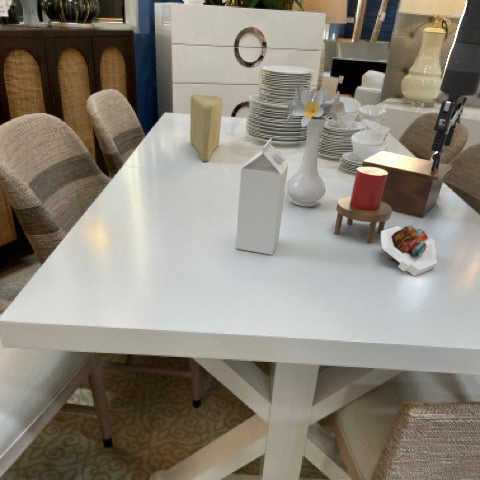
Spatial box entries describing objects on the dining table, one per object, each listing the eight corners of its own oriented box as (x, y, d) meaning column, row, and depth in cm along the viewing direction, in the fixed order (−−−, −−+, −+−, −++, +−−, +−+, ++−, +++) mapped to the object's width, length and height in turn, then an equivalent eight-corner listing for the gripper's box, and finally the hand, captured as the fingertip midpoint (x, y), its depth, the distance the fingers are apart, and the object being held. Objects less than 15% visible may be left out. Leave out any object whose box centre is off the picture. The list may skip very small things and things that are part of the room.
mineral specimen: (389, 231, 96) (408, 203, 91) (437, 266, 92) (459, 238, 87) (360, 252, 88) (378, 223, 83) (411, 291, 85) (432, 262, 80)
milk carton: (235, 249, 88) (242, 144, 78) (243, 235, 94) (251, 135, 84) (272, 255, 87) (284, 150, 77) (278, 241, 93) (291, 140, 83)
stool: (391, 232, 101) (399, 205, 98) (374, 248, 93) (381, 219, 90) (344, 218, 106) (349, 192, 103) (324, 233, 98) (329, 205, 95)
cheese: (221, 163, 137) (224, 107, 129) (188, 161, 136) (188, 105, 128) (219, 144, 155) (222, 94, 147) (190, 143, 154) (190, 92, 146)
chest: (436, 203, 120) (447, 168, 115) (422, 218, 110) (433, 180, 105) (373, 188, 127) (380, 154, 122) (354, 200, 117) (362, 164, 112)
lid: (451, 168, 115) (457, 148, 112) (437, 180, 105) (444, 158, 102) (381, 154, 122) (385, 134, 119) (362, 164, 112) (366, 143, 109)
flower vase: (321, 190, 122) (339, 83, 108) (335, 217, 106) (358, 96, 93) (271, 187, 121) (283, 79, 107) (278, 213, 106) (293, 91, 92)
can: (383, 205, 97) (392, 171, 93) (373, 212, 93) (382, 177, 89) (356, 198, 100) (363, 164, 96) (345, 205, 95) (352, 170, 92)
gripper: (477, 72, 92) (450, 157, 101) (488, 69, 102) (463, 146, 111) (438, 67, 95) (415, 150, 104) (453, 64, 105) (431, 140, 114)
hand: (440, 148), depth 108 cm, fingers open, 8 cm apart
